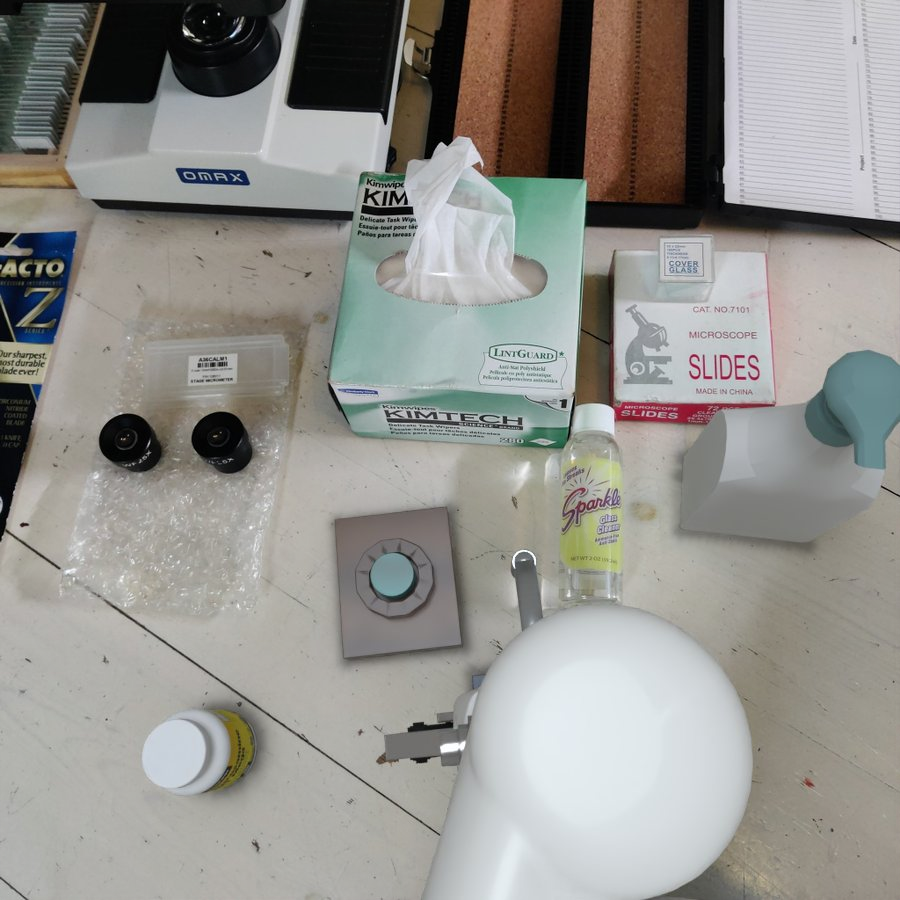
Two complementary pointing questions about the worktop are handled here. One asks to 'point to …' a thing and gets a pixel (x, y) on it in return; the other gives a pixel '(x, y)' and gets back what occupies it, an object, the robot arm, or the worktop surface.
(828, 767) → the worktop surface
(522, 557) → the spout
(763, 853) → the worktop surface
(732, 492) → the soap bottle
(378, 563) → the button
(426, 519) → the button block
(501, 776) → the robot arm
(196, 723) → the pill bottle
